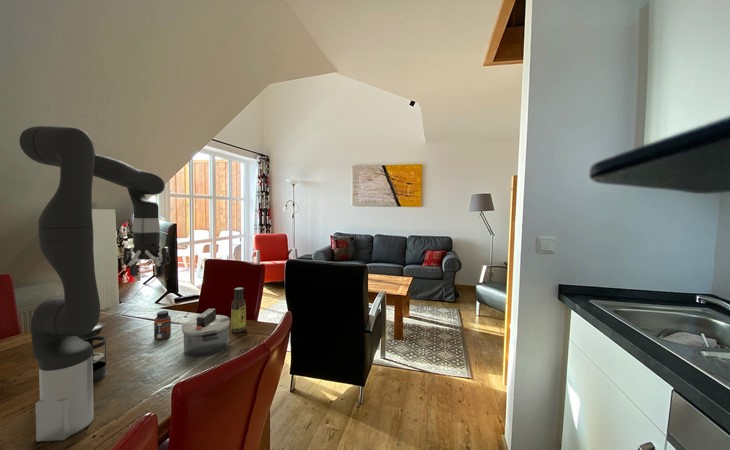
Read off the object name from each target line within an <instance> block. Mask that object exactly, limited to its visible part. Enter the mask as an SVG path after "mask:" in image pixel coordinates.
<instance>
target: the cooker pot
mask: <svg viewBox="0 0 730 450" xmlns="http://www.w3.org/2000/svg"><path fill="white" fill-rule="evenodd" d="M229 326H231V322H230V323H229V325H228V326H226V327H225V328H223V329H221V330H218V331H215V332H211V333H205V334H187V333H184V332H183V331H182V334H183V354H184V355H185V356H187V357H190V358H191V357H192V358H201V357H208V356H212V355H215V354H217V353H220V352H222V351H224V350H226V349H227V348H228V346H229V344H230V342H229V341H230V340H229V338H230V336H229V334H230V331H229V329H230V327H229Z"/></svg>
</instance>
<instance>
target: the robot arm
mask: <svg viewBox="0 0 730 450" xmlns="http://www.w3.org/2000/svg"><path fill="white" fill-rule="evenodd" d="M18 141H19V147H20V148H21V150H22V151H23V153H24V154H25V155H26V157H28V158H29V159H30V160H32V161H34V162H35V163H38V164H42V165H45V166H46V165H47V166H53V167H58V168H60V171H59V172H60V173H59V184H58V186H57V189H56V191H55V193H54V194H53V196H52V198H51V199H50V200H49V201H48V203H46V205H45V207H44V208H43V210H42V212H41V214H40V215H39V217H38V222H37V226H38V229H37V230H38V245H39V249H40V251H41V253H42V254H43V257H44V258H45V260H46V261H47V263H48V264H49V265H50V266H51V267H52V269H53V270H54V271H55V272H56V274H57V276H58V277H59V279H60V281H61V284H62V287H63V296H64V297H63V296H62V297H60V296H59V297H52V298H49V299H46V300H44V301H42V302H41V303H40V304H39V305H37V307H36V309H35V310H34V311H33V313H32V316H31V320H30V337H31V343H32V345H31V346H32V353H33V357H34V359H35V360H36V361H37V363H38V372H39V373H38V376H39V379H38V381H39V400H38V401H37V402H36V403H35V405H34V406H35V431H36V432H35V436H36V440H35V441H36V442H53V441H54V442H55V441H56V442H57V441H64V440H66V439H67V438H69V437H70V436H72V435H75V434H76V433H79V432H80V431H82V430H83V429H85V428H87V427H88V426H89V425H90V424H91V423H93V422H92V421H93V420H94V382H93V372H94V371H93V362H92V346H91V344H90V343H88V342H86V341H84V340H82V339H80V338H79V337H78V336H80V335H84V334H87V333H89V332H90V331H92V330H93V329H94V327H95V326H96V325H97V323H98V322H99V320H100V317H101V303H100V302H101V301H100V296H99V291H98V289H99V288H98V285H97V280H96V279H97V277H96V272H95V257H94V223H93V215H92V214H93V212H92V211H93V207H92V206H93V203H92V202H93V200H92V198H93V196H92V195H93V189H92V188H93V178H94V177H95V178H99V179H101V180H104V181H106V182H107V181H108V182H110V183H112V184H115V185H118V186H120V187H123V188H126V189H127V192H128V195H129V198H130V201H131V203H132V207H133V221H132V244H133V247H132V246H127V247H123V252H122V253H123V255H122V264H123V265H127V266H129V275H130V277H134V278H135V277H137V276H138V263H139V262H140V261H142V260H147V261H149V260H151V261H152V262H153V263H155V264H156V277H162V276H163V275H164V274H165V265H168V264H170V263H171V255H170V247H169V246H164V247H160V243H161V234H160V230H161V229H160V228H161V227H160V226H161V225H160V220H159V219H160V217H159V215H160V213H159V212H160V211H159V210H160V209H159V204H158V203H157V202H155V201H151V200H148V198H147V197H146V195H148V196H149V195H151V196H154V195H155V196H156V195H159V194H162V192H164V190H165V187H166V186H165V181H164V179H162V177H161V176H159V175H158V174H156V173H153V172H149V171H146V170H141V169H139V168H135V167H134V166H132V165H130V164H128V163H125V162H124V161H121V160H119V159H115V158H112V157H108V156H104V155H101V154H96V153H95V146H94V141H93V140H92V138H91V137H90V135H89V134H88V133H87V132H86V131H84V130H83V129H80V128H78V127H70V126H68V127H67V126H53V125H52V126H47V125H42V126H41V125H40V126H32V127H28V128H25V129H24V130H23V131H22V132H21V133H20V136H19V139H18ZM133 253H134V255H133ZM160 254H161V255H160Z"/></svg>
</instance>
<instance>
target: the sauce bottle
mask: <svg viewBox="0 0 730 450" xmlns="http://www.w3.org/2000/svg"><path fill="white" fill-rule="evenodd" d="M244 290H245V289H244V287H236V288H234V289H233V292H234V295H233V296H234V299H233V300H232V301H231V308H230V309H231V311H230V314H231V315H230V327H231V328H230V329H231V330H230V331H231V332H232V333H241V332H243V331H245V330H246V326H247V325H246V324H247V320H246V319H247V304H246V300H245V299H244Z"/></svg>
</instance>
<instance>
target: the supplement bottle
mask: <svg viewBox="0 0 730 450" xmlns="http://www.w3.org/2000/svg"><path fill="white" fill-rule="evenodd" d="M153 321H154V322H153V328H154V329H153V338H154V340H156V341H163V340H166V339H168V338H170V337H171V335H172V317H171V315H169V310H162V311H161V310H160V311H158V312H157V313H156V317H155V318H154V319H153Z"/></svg>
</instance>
